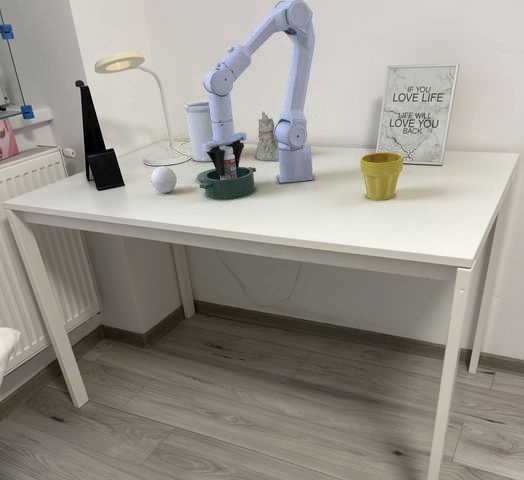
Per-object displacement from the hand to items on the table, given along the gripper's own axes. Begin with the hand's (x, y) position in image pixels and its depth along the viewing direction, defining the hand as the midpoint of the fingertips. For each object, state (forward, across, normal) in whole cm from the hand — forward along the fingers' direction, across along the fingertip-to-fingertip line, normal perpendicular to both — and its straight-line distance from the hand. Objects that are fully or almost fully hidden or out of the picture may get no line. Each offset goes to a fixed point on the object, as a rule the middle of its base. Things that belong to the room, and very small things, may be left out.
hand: (228, 172), depth 150 cm
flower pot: (+6, -17, +38) cm, 42 cm away
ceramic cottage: (+6, -38, -16) cm, 41 cm away
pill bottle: (+2, 0, 0) cm, 2 cm away
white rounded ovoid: (+6, +11, -17) cm, 21 cm away
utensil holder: (+6, -25, -36) cm, 45 cm away
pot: (+5, 0, 0) cm, 5 cm away
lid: (+5, -9, -14) cm, 17 cm away
